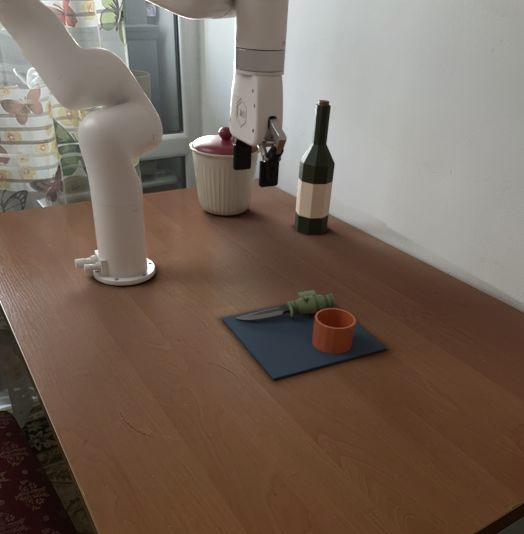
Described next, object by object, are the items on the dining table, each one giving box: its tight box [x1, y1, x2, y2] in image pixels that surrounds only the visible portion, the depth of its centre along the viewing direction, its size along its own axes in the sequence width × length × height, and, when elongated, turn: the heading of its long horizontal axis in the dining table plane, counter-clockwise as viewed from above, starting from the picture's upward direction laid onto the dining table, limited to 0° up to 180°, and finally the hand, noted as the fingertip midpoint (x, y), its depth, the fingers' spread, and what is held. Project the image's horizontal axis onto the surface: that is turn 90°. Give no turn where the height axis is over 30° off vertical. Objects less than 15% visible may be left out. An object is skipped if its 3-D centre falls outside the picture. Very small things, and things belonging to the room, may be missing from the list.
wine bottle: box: [293, 99, 336, 235], centre depth 131 cm, size 8×8×30 cm
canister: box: [189, 126, 261, 216], centre depth 142 cm, size 18×18×21 cm
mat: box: [221, 303, 387, 381], centre depth 97 cm, size 22×20×1 cm
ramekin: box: [312, 307, 357, 354], centre depth 93 cm, size 7×7×5 cm
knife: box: [235, 289, 335, 320], centre depth 100 cm, size 4×18×5 cm
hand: (254, 177), depth 91 cm, fingers open, 9 cm apart
